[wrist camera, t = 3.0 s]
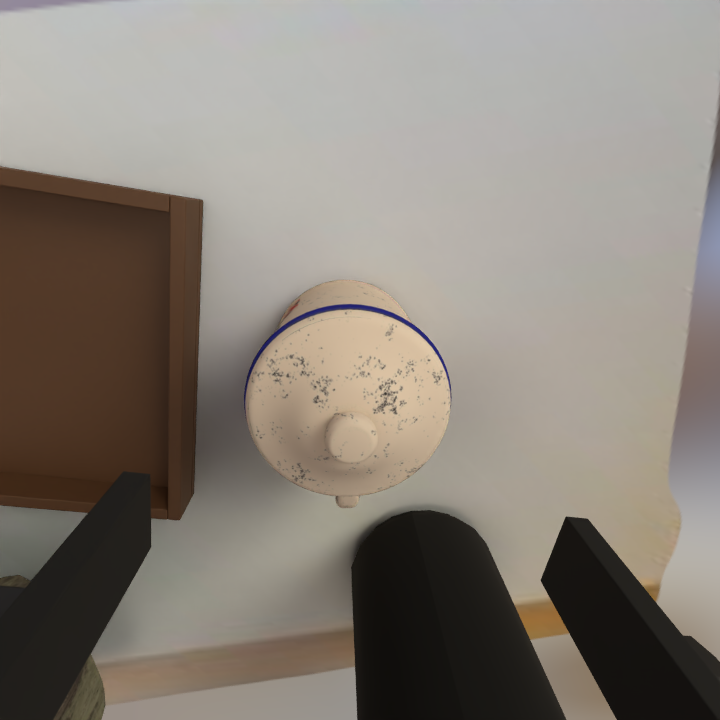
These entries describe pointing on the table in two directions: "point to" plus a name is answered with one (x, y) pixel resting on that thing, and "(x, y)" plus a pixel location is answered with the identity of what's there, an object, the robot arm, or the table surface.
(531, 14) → the table surface
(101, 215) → the tray
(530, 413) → the table surface
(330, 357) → the teacup with lid
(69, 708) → the green bell
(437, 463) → the table surface
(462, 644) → the coffee jar
